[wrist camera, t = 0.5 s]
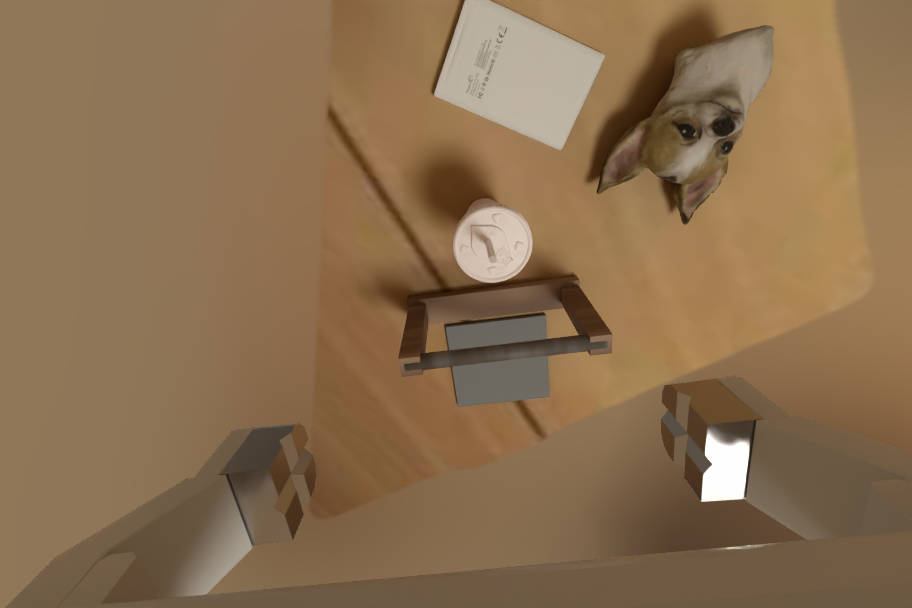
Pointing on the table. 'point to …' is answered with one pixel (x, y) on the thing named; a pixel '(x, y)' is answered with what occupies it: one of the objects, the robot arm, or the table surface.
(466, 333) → the mat
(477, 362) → the bar hurdle
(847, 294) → the table surface
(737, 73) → the ceramic sculpture
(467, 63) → the external hard drive
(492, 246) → the smoothie
